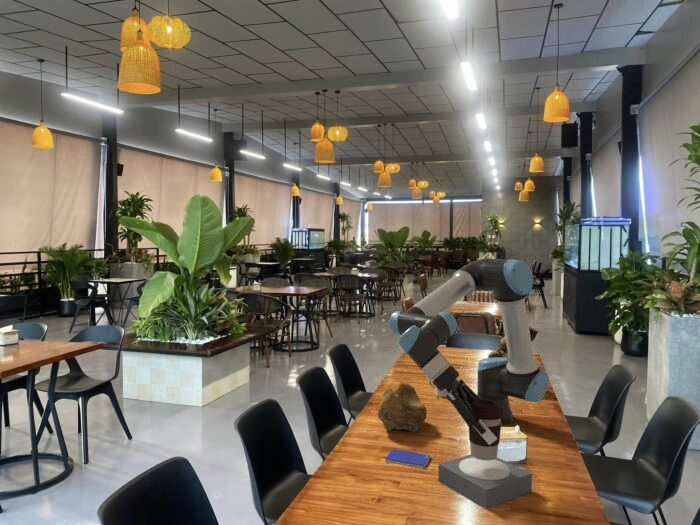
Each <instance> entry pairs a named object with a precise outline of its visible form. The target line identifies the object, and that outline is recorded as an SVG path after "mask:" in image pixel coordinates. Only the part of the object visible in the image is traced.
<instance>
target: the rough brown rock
mask: <svg viewBox="0 0 700 525" xmlns="http://www.w3.org/2000/svg"><path fill="white" fill-rule="evenodd" d="M427 415H428V413H427V408H426V406H425V405H424V404H423V403H422V402H421V401H420V398H419V395H418V394H417V391H416V390H415V387H414V386H413V385H411V384H410V383H408V382H405V381H401V382H399V383H398V384H397V386H396V387H395V389H394V390H393V389H392V388H390V387H385V389H384V390H383V392H382V395H381V399H380V402H379V405H378V409H377V417H378V420H380V421H381V422H382V425H383V427H384V429H385V430H386V431H393V430H394V429H395V430H397V431H398V430H399V431H400V430H407V431H409V432H412V433H417V431H419V429H420V428H421V426H422V425H423V424H424V422H425V421H426V419H427Z"/></svg>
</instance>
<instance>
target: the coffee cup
mask: <svg viewBox="0 0 700 525" xmlns="http://www.w3.org/2000/svg"><path fill="white" fill-rule="evenodd" d="M470 406H471V408H472V410H473V411H474V413H475V414H476V416H477V418H478V419H479V420H480V419H481V420H482V422H483V423H484V424H485V425H486V426H487V427H488V428H489V429H490V431H491V432H492V433H493V434H494V435H495V436H496V437H497V440H495V441H494V442H493V443H492V444H490V445H489V444H488V443H487V442H486V441H485V439H484V438H483V437H482V436H481V435H480V434H479V433H478V431H477V430H476V429H475V428H474V427H473V426H472V427H471V428H470V427H469V426H468V440H469V444H470V450H469V451H470V454H471V455H472V456H473V457H474V458H476V459H479V460H486V461H488V460H494V459H496V458H497V457H498V453H499V445H500V439H501V432H502V431H501V429H502V426H501V425H502V424H501V418H502V417H503V409H502V408H500V407H498V404H497V403H495V402H493V401H489V400H476V401H474V402H473V403H472V404H471V405H470Z"/></svg>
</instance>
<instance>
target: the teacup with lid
mask: <svg viewBox="0 0 700 525" xmlns="http://www.w3.org/2000/svg"><path fill="white" fill-rule="evenodd" d="M428 379H429V378H428ZM431 381H432V379H431V380H430V379H429V380H428V384H429V387H431V388H432V389H434V395H435V397H438V396H439V397H438V398H441V397H445V398H444V399H448V398H447V397H446V396H447V395H448V394H449V393H448V392H447V390H446V389H444V390H442V391H439V390H438V389H437V387H436V386H435V385H433V383H432V382H431Z"/></svg>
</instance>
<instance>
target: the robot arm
mask: <svg viewBox="0 0 700 525" xmlns="http://www.w3.org/2000/svg"><path fill="white" fill-rule="evenodd" d="M533 275H534V274H533V271H532V269H531V267H530V266H529V264H528V263H526V262H525V261H523V260H521V259H514V258H509V259H508V258H507V259H506V258H487V257H486V258H480V259H477V260H474V261H472V262H469V263H468V264H466V265H464V266H463V267H461V268H459V269H458V270H455V272H454V273H453V274H452V278H450V279H449V280H447V281H446V282H445V283H443V284H442V285H441V286H439V287H437V288H436V289H435V290H433V291H432V292H431V293H429V294H428V295H426V296H425V297H424V298H422V299H421V300H420V301H418V302H417V303H415V304H414V305H412V306H411V307H410V308H408V309H407V310H405V311H403V310H397V311H396V310H395V311H394V312H393V313H392V314H391V315H390V317H389V320H388V325H389V328H390V331H392V333H394V334H397V335H400V336H399V337H398V340H397V342H398V344H399V346H400V347H401V348H402V350H403V351H404V353H405V354H407V356H408V357H410V359H411V360H412V361H413V362H414V363H415V364H416V365H417V367H418V368H419V369H420V370H421V371H422V375H424V376H426V377H427V379H430V380H431V381H432V385H433V386H434V387H435V386H436V387H437V389H438V390H439V391H442V390H444V389H446V390H447V392H448V393H449V394H448V395H447V396H446V397H447V398H446V399H448V400H449V402H450V403H451V404H452V406H453V407H454V408H455V410H456V411H457V412H458V414H459V415H460V417H461V418H462V419H463V421H464V422H465V424H466V425H467V427H468V428H469V427H470V428H471V427H472V426H473V427H474V428H475V429H476V430H477V431H478V433H479V434H480V435H481V436H482V437H483V438H484V439H485V441H486V442H487V443H488V444H489V445H490V444H492V443H493V442H494V441H495V440H497V437H496V436H495V435H494V434H493V433H492V432H491V431H490V429H489V428H488V427H487V426H486V425H485V424H484V423H483V422H482V420H481V419H480V420H479V419H478V418H477V416H476V414H475V413H474V411H473V410H472V408H471V406H470V405H471V404H472V403H473V402H474V401H476V400H489V401H493V402H495V403H497V404H498V407H500V408H502V409H503V417H502V418H501V427H503V426H502V424H509V423H511V422H512V421H513V411H512V409H511V405H510V401H509V397H512V398H515V399H516V398H517V399H519V400H524V401H525V402H533V403H538V402H540V401H541V400H542V399H543V398H544V397H545V395H546V393H547V390H548V386H549V375H548V372H546V371H544V370H541V368H540V363H539V361H538V360H537V359H535V357H534V350H533V345H532V342H531V337H530V331H529V327H530V326H529V319H528V318H529V317H528V314H527V306H526V301H525V300H526V299H527V298H528V297H529V293H530V292H531V291H532V289H533V286H534V285H533V283H534V276H533ZM479 291H486V292H491V293H492V295H493V299H494V300H493V301H495V302H497V303H498V304H499V309H500V315H501V320H502V324H503V326H502V327H503V332H504V336H505V338H506V344H507V350H508V356H509V359H507V358H499V357H496V358H488V357H485V358H482V359H480V360H479V362H478V363H477V364H478V365H477V370H476V371H477V387H476V388H477V393H476V392H475V391H473V389H471V388H470V387H469V386H468V385H467V384H466V383H465V381H464V380H463V379H462V378H461V379H460V380H458V378H459V376H460V373H459V372H458V370H456V368H455V367H454V366H453V365H450V361H449V360H448V359H447V358H446V356H444V355H443V353H442V352H441V351H440V350H439V349H438V348H439V347H440V346H441V345H442V344H443V343H444V342H446V341H447V340H448V339H449V338H451V336H452V335H453V334H454V333H455V332H456V331H457V329H458V323H457V320H456V318H455V316H454V315H452V313H450V312H448V311H446V310H448V309H449V308H450V307H452V306H453V305H454V304H456V303H457V302H458V301H459V300H460V299H462V298H463V297H465V296H469V295H472V294H474V292H479Z"/></svg>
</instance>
